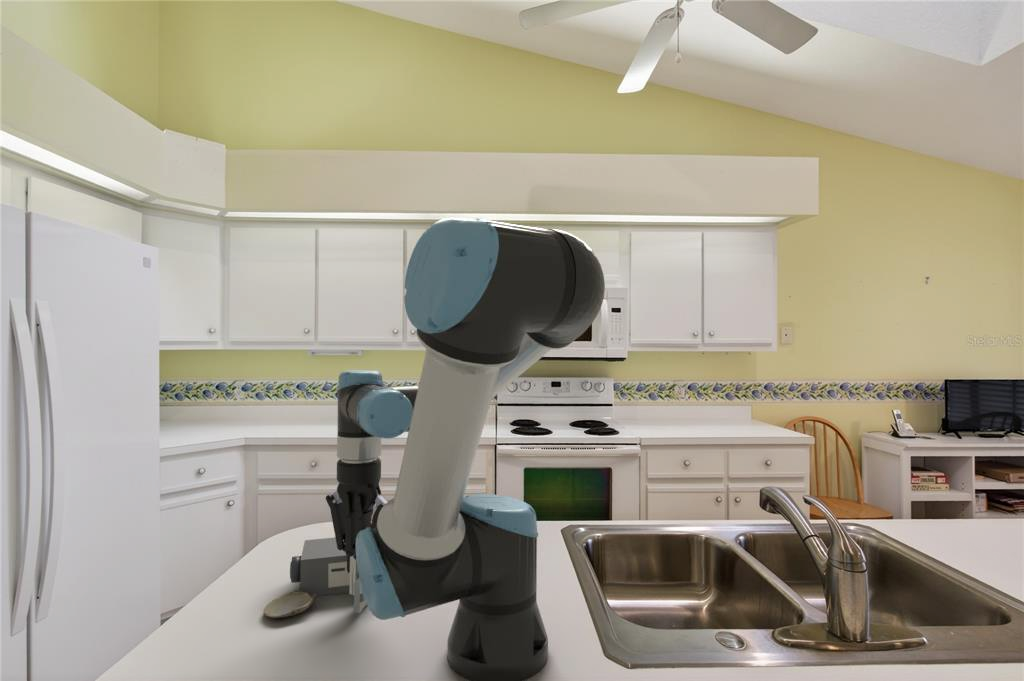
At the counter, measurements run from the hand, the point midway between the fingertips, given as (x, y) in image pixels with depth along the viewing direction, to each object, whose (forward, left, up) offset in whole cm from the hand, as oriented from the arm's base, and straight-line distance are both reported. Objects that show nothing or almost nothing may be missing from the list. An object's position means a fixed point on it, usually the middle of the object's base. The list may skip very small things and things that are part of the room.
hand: (357, 591), depth 96 cm
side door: (0, -2, -2) cm, 3 cm away
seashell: (+1, +11, -3) cm, 12 cm away
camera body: (+11, +3, -3) cm, 11 cm away
